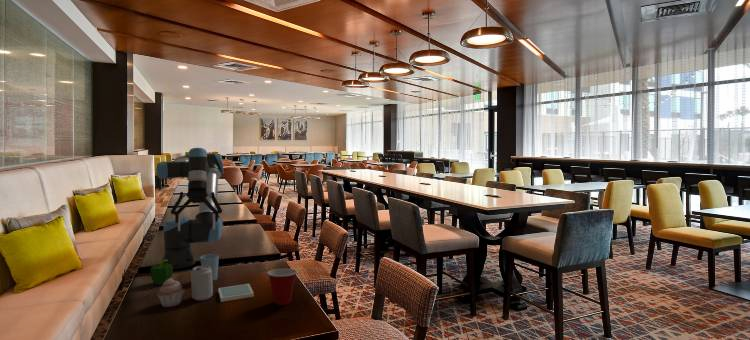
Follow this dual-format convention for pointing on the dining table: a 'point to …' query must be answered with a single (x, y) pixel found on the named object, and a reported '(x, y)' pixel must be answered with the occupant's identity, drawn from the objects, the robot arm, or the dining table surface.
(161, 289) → the cupcake
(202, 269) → the can
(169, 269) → the bell pepper
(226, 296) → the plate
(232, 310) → the dining table surface
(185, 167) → the robot arm
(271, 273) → the plastic cup
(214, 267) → the cup
